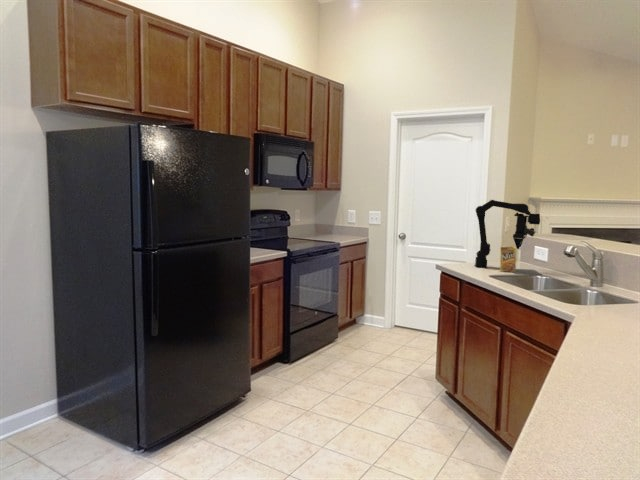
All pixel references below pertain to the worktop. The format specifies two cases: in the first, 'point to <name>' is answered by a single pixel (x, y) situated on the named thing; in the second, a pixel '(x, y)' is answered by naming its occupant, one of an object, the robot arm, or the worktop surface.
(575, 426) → the worktop surface
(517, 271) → the mat
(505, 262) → the candy box
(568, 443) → the worktop surface
